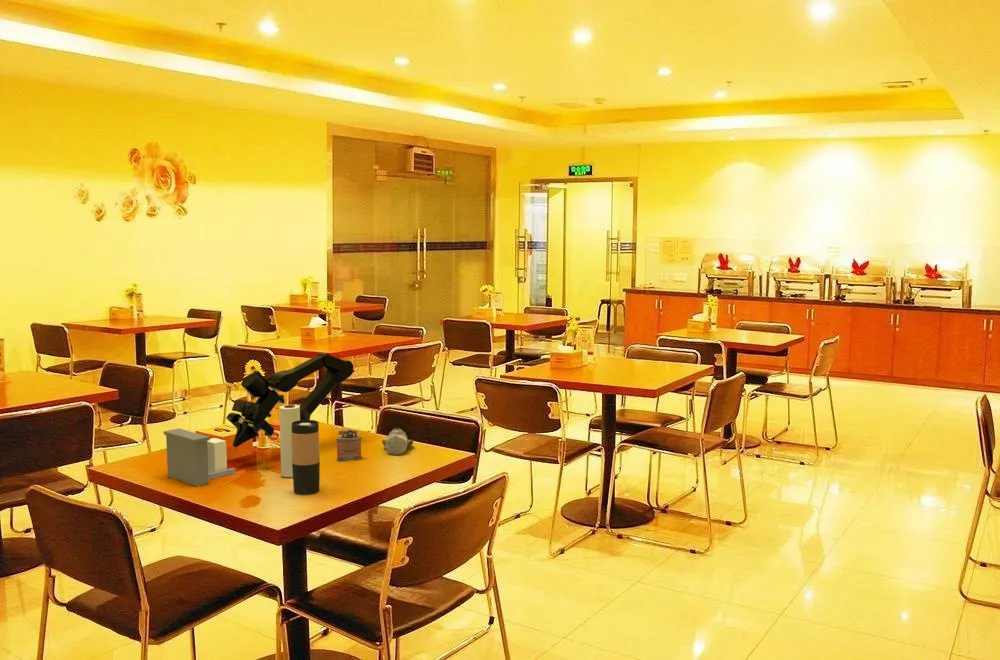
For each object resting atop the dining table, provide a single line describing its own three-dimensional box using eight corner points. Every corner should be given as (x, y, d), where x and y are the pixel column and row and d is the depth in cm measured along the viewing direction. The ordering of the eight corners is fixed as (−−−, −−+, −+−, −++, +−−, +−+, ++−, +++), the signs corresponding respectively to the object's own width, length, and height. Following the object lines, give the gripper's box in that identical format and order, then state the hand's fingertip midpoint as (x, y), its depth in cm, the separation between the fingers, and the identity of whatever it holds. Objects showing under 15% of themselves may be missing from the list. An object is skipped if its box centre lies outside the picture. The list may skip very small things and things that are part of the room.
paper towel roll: (288, 479, 259) (286, 409, 257) (277, 475, 263) (275, 406, 261) (308, 474, 264) (307, 405, 262) (297, 470, 268) (295, 402, 266)
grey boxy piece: (212, 466, 273) (210, 422, 272) (243, 475, 262) (241, 430, 261) (165, 476, 261) (163, 431, 260) (195, 487, 250) (193, 439, 249)
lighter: (360, 457, 284) (360, 427, 283) (362, 460, 281) (361, 429, 280) (336, 459, 282) (335, 429, 281) (337, 462, 279) (336, 431, 277)
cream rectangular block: (216, 469, 268) (215, 437, 267) (227, 472, 265) (226, 440, 263) (204, 472, 265) (203, 440, 264) (215, 475, 261) (214, 443, 260)
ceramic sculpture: (379, 430, 284) (383, 423, 299) (379, 456, 285) (382, 448, 300) (411, 430, 285) (413, 423, 300) (411, 456, 285) (413, 448, 300)
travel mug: (296, 487, 251) (295, 419, 248) (323, 487, 250) (321, 419, 248) (289, 495, 243) (287, 425, 241) (316, 495, 243) (315, 425, 241)
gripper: (230, 387, 277) (200, 427, 270) (265, 394, 265) (234, 436, 258) (252, 408, 284) (223, 447, 277) (287, 415, 272) (257, 456, 265)
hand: (234, 446), depth 269 cm, fingers closed
